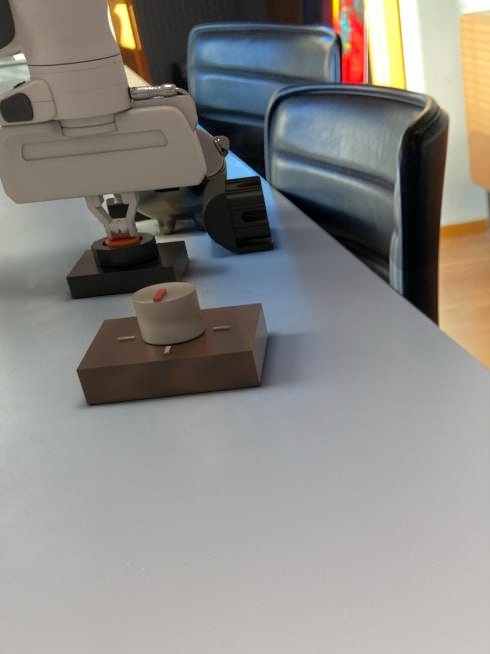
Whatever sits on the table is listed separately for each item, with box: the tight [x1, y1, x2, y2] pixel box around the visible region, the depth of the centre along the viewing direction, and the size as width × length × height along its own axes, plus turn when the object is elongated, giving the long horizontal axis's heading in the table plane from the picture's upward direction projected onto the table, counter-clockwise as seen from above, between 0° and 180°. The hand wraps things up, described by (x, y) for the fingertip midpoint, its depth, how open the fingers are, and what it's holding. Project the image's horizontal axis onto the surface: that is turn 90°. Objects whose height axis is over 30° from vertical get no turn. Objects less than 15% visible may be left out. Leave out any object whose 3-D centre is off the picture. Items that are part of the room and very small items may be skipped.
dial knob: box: [131, 281, 205, 345], centre depth 85 cm, size 5×5×4 cm
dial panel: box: [75, 302, 269, 406], centre depth 87 cm, size 14×12×3 cm
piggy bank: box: [112, 126, 230, 235], centre depth 124 cm, size 11×15×12 cm
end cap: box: [203, 173, 274, 254], centre depth 117 cm, size 10×7×7 cm
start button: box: [105, 235, 141, 247], centre depth 108 cm, size 4×4×2 cm
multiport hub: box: [105, 196, 152, 222], centre depth 133 cm, size 4×11×2 cm, turn 108°
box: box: [65, 231, 190, 299], centre depth 109 cm, size 11×10×4 cm
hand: (123, 237), depth 108 cm, fingers closed, pressing on start button
